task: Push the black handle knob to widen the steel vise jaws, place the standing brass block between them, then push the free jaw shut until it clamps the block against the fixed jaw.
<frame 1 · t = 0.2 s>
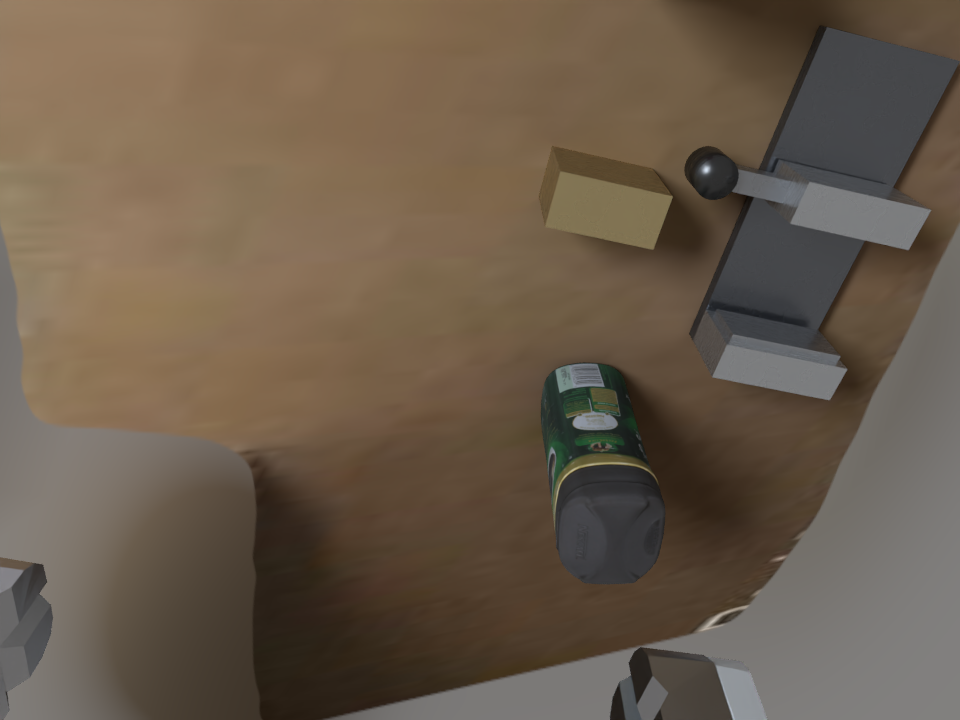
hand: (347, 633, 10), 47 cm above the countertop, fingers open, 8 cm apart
free jaw: (797, 193, 50), point 4 cm above the countertop, slide at 0.0 cm
vise bed: (806, 210, 55), on the countertop
brass block: (594, 182, 54), on the countertop
coffee jar: (582, 400, 65), on the countertop
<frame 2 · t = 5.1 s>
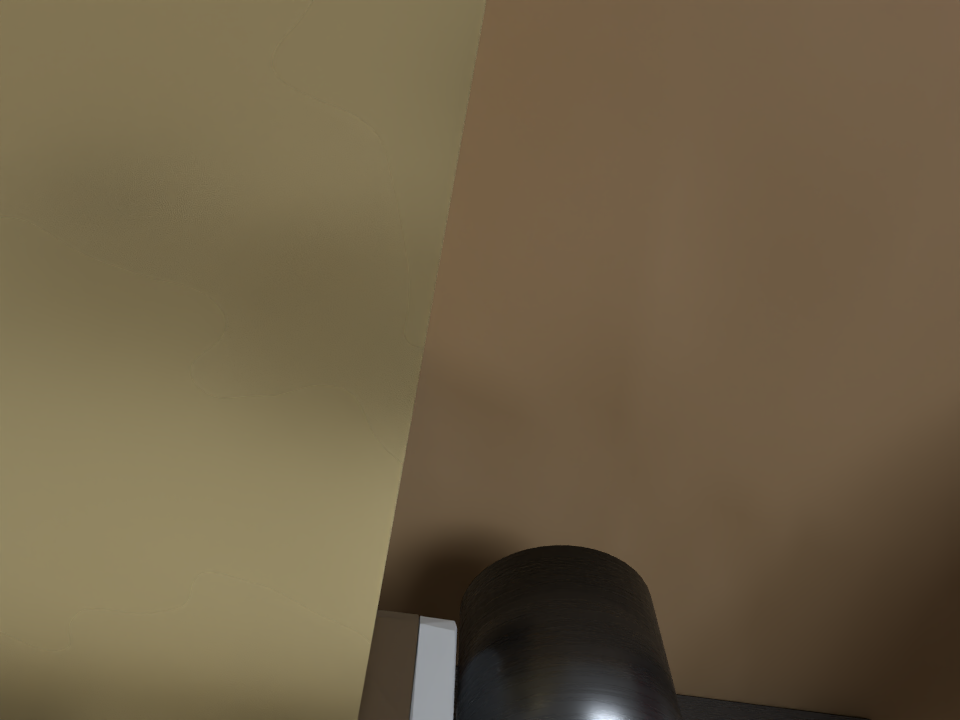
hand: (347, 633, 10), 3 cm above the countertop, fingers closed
brass block: (315, 53, 9), on the countertop
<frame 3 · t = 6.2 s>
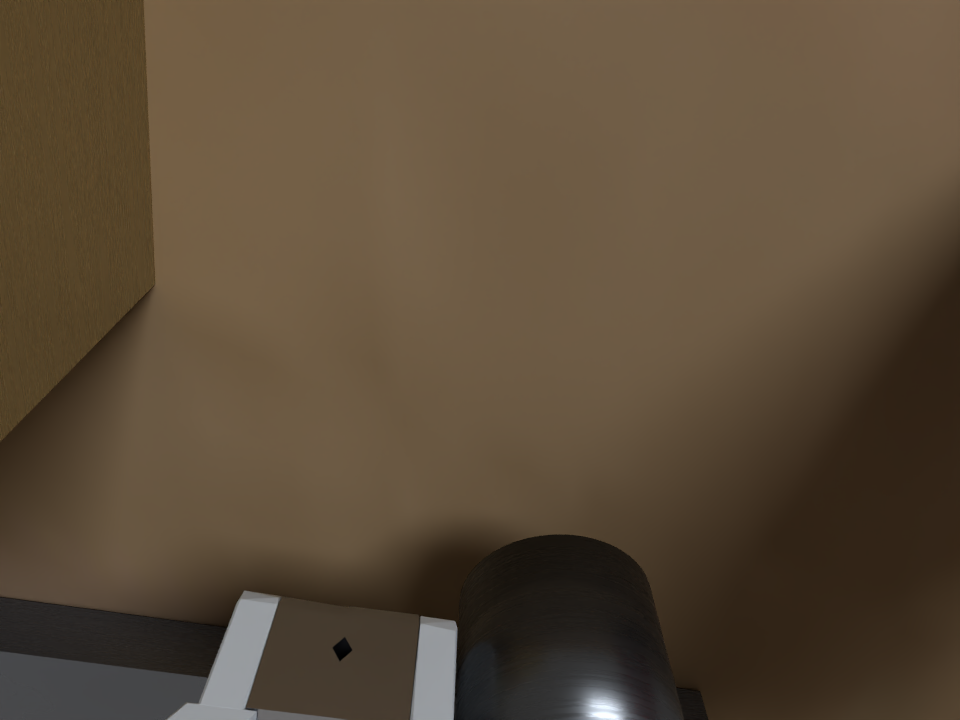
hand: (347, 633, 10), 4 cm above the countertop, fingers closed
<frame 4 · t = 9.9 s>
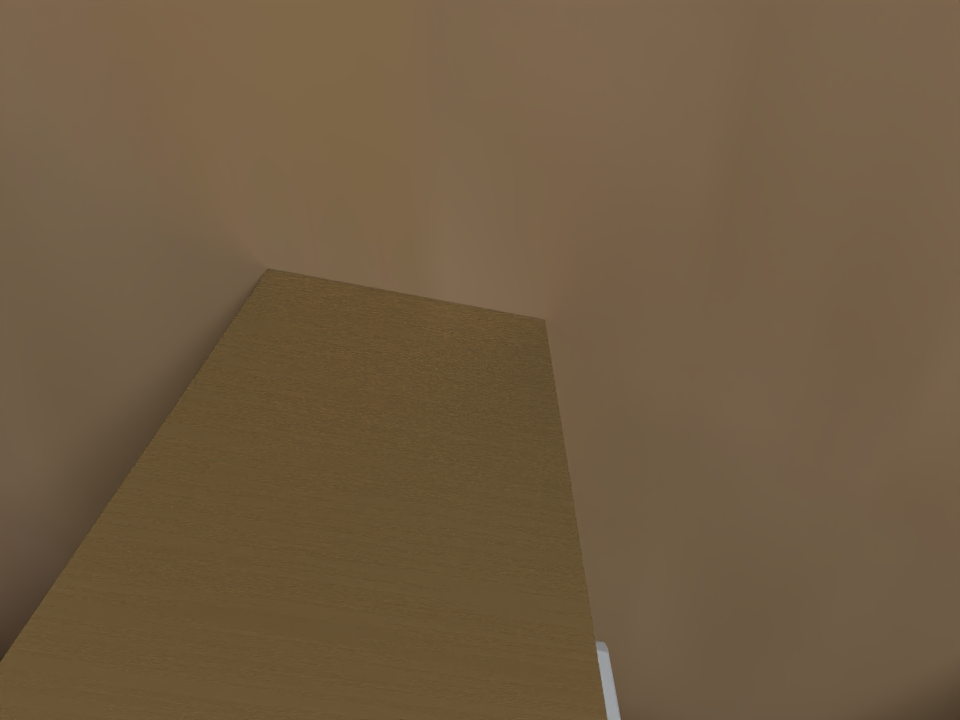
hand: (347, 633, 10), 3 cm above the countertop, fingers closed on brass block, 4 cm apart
brass block: (374, 502, 12), on the countertop, touching gripper
when the fingers open (5 cm above the countertop, at t = 15.0 s): brass block drops 1 cm, resting on vise bed.
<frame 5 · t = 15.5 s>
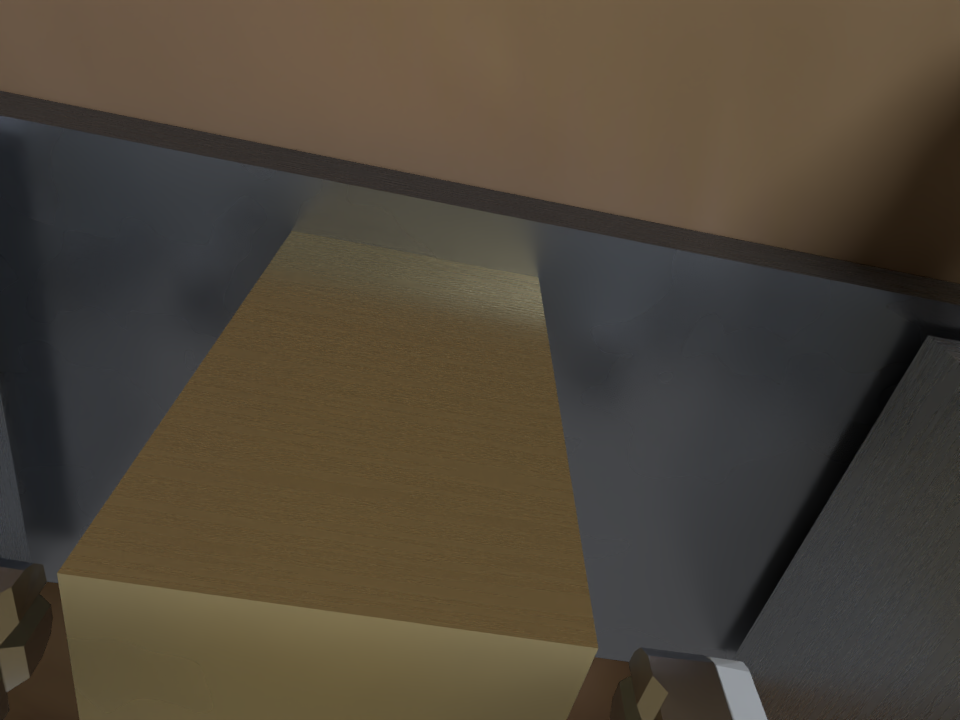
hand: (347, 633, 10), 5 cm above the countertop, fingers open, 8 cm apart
vise bed: (509, 435, 14), on the countertop
brass block: (385, 448, 13), point 1 cm above the countertop, touching vise bed
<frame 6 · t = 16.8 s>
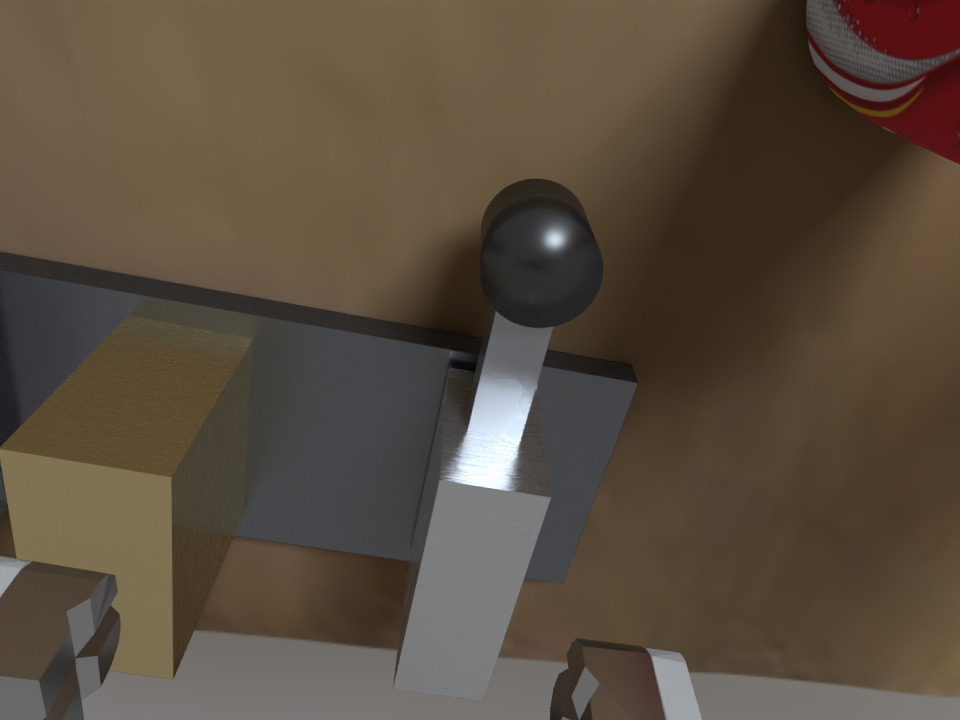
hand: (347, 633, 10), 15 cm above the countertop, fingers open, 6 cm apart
free jaw: (487, 451, 21), point 4 cm above the countertop, slide at -5.5 cm
vise bed: (270, 419, 26), on the countertop
brass block: (190, 424, 25), point 1 cm above the countertop, touching vise bed
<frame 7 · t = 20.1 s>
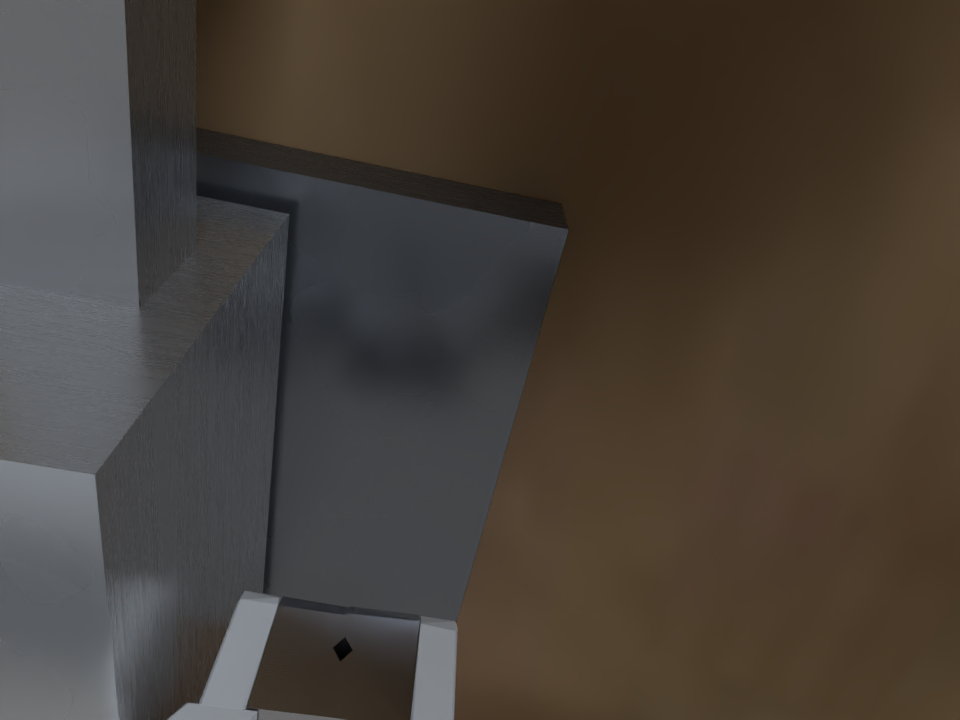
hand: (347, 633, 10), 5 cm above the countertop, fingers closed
free jaw: (87, 355, 8), point 4 cm above the countertop, slide at -5.0 cm, touching gripper
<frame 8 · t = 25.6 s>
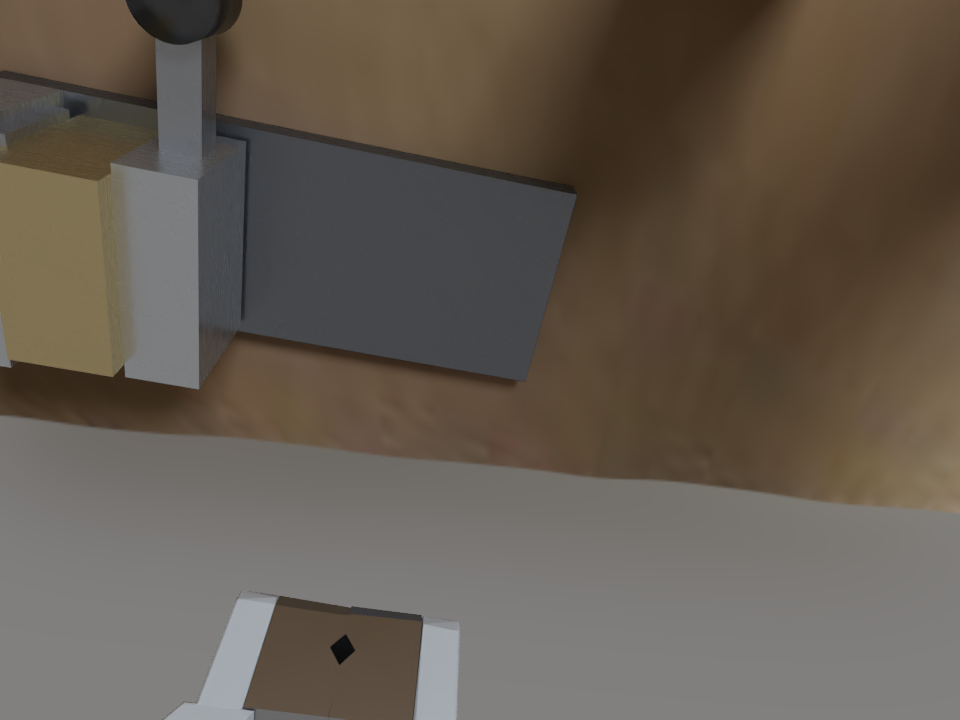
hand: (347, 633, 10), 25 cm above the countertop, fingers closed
free jaw: (185, 176, 27), point 4 cm above the countertop, slide at 5.4 cm, touching brass block
vise bed: (292, 236, 33), on the countertop
brass block: (133, 213, 31), point 1 cm above the countertop, touching free jaw, vise bed
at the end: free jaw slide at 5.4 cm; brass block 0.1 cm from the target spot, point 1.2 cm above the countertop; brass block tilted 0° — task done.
